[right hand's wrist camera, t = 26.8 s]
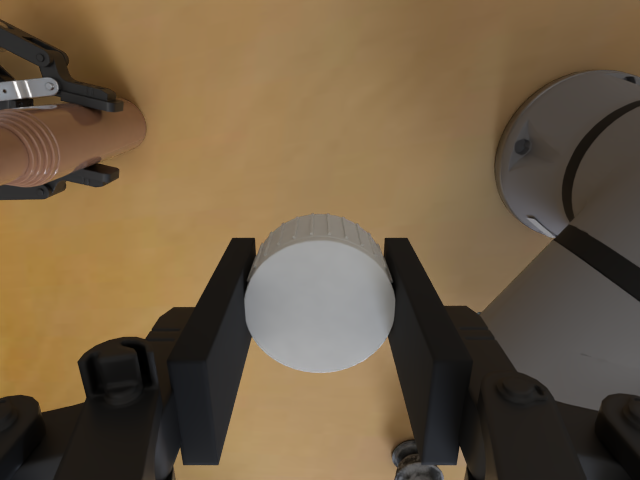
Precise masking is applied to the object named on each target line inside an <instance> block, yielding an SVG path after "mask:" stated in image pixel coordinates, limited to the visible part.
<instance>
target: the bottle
mask: <svg viewBox="0 0 640 480" xmlns="http://www.w3.org/2000/svg"><path fill="white" fill-rule="evenodd" d="M116 99H117V100H121V101H124V106H123V111H120V112H107V111H102V110H98V109H94V108H90V107H86V106H81V105H77V104H73V103H69V102H67V103H58V104H48V105H39V106H29V107H20V108H10V109H3V110H0V186H1V185H11V186H19V187H33V186H40V185H43V184H45V183H48V182H50V181H53V180H56V179H58V178H61V177H63V176H66V175H68V174H71V173H73V172H76V171H79V170H81V169H84V168H86V167H89V166H91V165H94V164H96V163H99V162H102V161H104V160H107V159H109V158H112V157H114V156H117V155H119V154H122V153H125V152H127V151H130V150H132V149H135V148H136V147H138V146H139V145H140V144H141V143H142V141H143V140H144V138H145V134H146V123H145V119H144V117H143V115H142V113H141V111H140V110H139V109H138V108H137V107H136V106H135V105H134V104H133V103H131V102H130V101H128V100H126V99H123V98H116Z"/></svg>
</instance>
